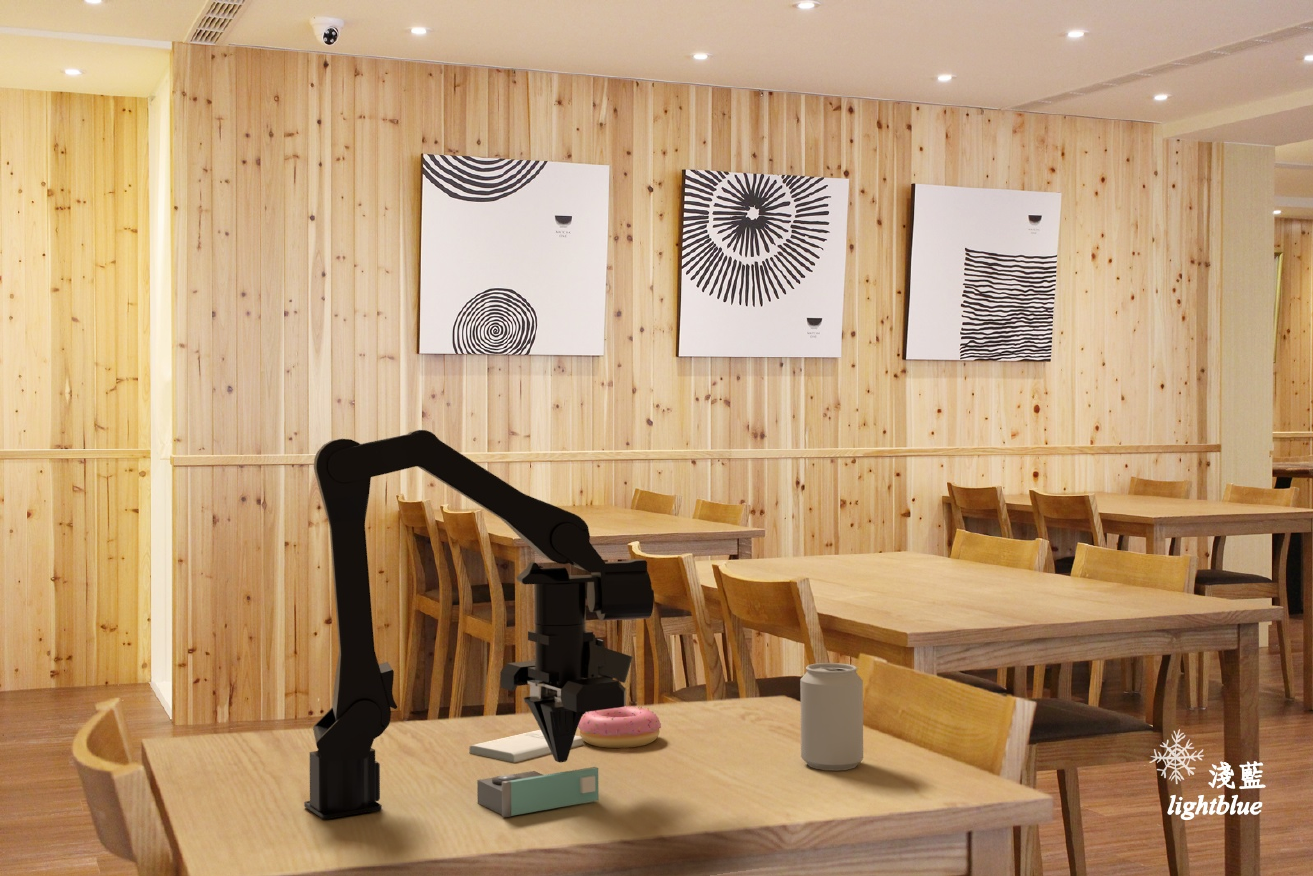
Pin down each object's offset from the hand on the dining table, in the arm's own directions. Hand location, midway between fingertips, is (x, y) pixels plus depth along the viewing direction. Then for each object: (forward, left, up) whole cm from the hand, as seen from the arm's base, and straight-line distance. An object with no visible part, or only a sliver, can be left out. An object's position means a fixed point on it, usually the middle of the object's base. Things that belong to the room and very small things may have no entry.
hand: (561, 761), depth 150 cm
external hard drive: (+7, +21, -4) cm, 22 cm away
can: (+33, -8, -4) cm, 34 cm away
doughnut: (+19, +18, -4) cm, 27 cm away
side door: (-5, -6, -3) cm, 8 cm away
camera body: (-6, -2, -3) cm, 7 cm away
